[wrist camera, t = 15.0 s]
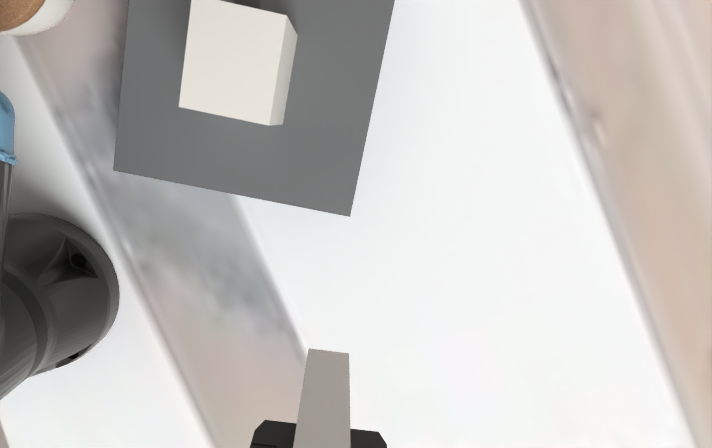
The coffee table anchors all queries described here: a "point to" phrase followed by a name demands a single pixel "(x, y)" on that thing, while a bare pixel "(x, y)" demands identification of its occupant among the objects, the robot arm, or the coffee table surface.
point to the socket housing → (248, 139)
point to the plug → (238, 61)
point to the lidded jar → (31, 15)
